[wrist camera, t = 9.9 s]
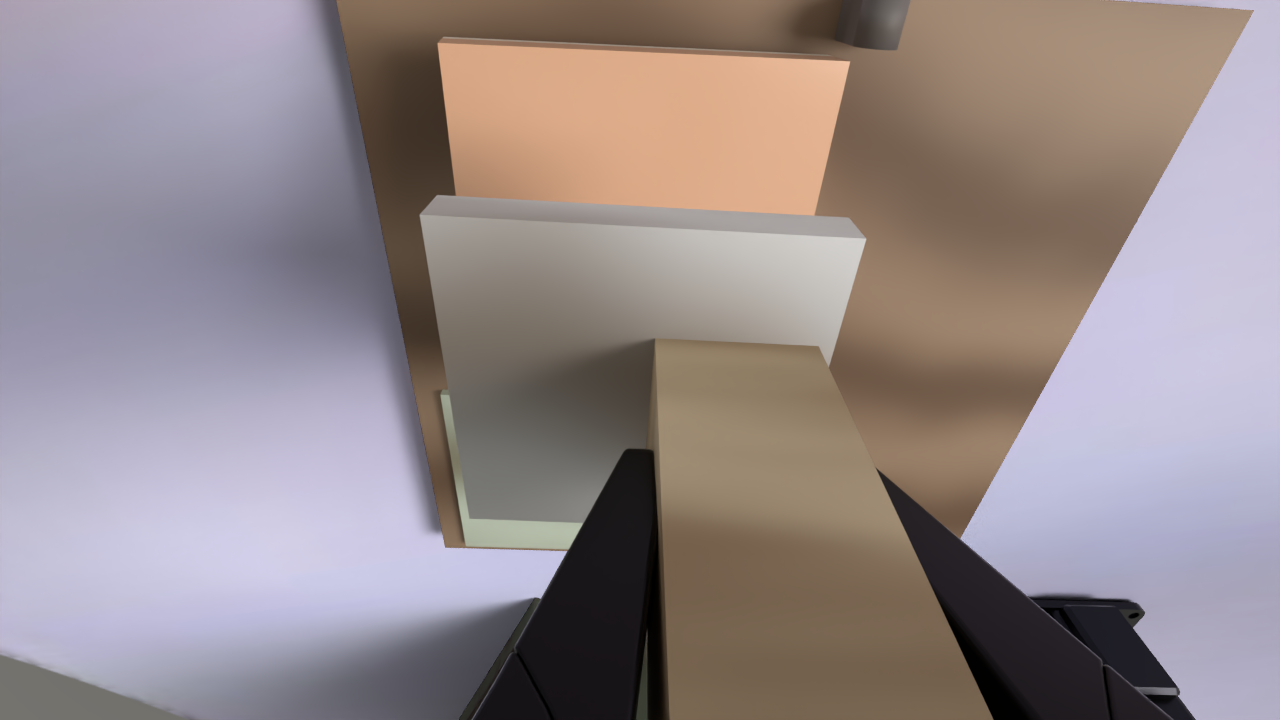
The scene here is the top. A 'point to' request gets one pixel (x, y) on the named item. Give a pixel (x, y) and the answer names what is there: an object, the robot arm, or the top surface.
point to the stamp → (696, 443)
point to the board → (859, 193)
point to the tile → (640, 124)
